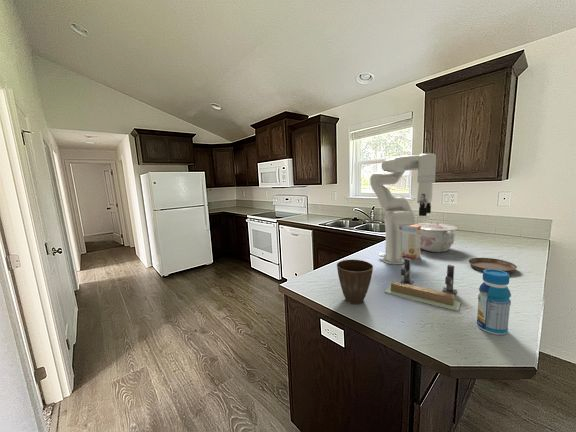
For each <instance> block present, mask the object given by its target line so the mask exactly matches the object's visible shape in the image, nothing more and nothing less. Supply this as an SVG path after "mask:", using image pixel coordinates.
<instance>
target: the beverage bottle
mask: <svg viewBox="0 0 576 432" xmlns="http://www.w3.org/2000/svg"><path fill="white" fill-rule="evenodd" d="M510 277H511V276H510V273H506V272H504V271H500V270H495V269H486V270H484V271H482V281H483V282H482V283H481V284H480V285H479V288H478V291H479V293H478V295H477V299H478V301H477V302H478V303H477V314H476V317H477V318H476V325H477V327H478V328H479V329H480V330H482V331H484V332H486V333H489V334H493V335H496V336H497V335H499V336H502V335H506V334H507V333H508V331H509V318H510V310H511V309H510V307H511V304H512V301H511V299H510V298H511V297H512V293H511V290H510V289H509V287H508V285H509V284H510Z"/></svg>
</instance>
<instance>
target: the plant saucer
mask: <svg viewBox="0 0 576 432" xmlns="http://www.w3.org/2000/svg"><path fill="white" fill-rule="evenodd" d="M468 263H469V265H470V266H471V267H472V268H473V269H475V270H478V271H481V272H483V271H484V270H486V269H495V270H500V271H504V272H506V273H508V274H510V273H513V272H514V271H515V270H516V269H518V267H517V265H516V264H515V263H513V262H510V261H507V260H503V259H499V258H492V257H491V258H489V257H473V258H469V259H468Z"/></svg>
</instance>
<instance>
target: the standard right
mask: <svg viewBox="0 0 576 432" xmlns="http://www.w3.org/2000/svg"><path fill="white" fill-rule="evenodd" d="M446 267H447V269H446V276H445V281H444V284H445V285H446V287H445V286H444V287H443V288H442V291H441V292H445V293H450V294H454V295H457V291H458V290H457V289H454V283H455V282H454V281H455V280H454V279H455V265H451V264H447V266H446Z"/></svg>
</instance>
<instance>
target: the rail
mask: <svg viewBox="0 0 576 432" xmlns="http://www.w3.org/2000/svg"><path fill="white" fill-rule="evenodd" d="M390 286H391V291H393V292H397V293H401V294H405V295H409V296H414V297H418V298H422V299H426V300H430V301H434V302H438V303H442V304H446V305H450V306H453V304H454V301H455V294H451V293H447V292H442V291H440V290H435V289H431V288H427V287H422V286H416V285H414V284H412V285H410V284H406V283H401V282H399V281H394V280H392V282H391V283H390Z"/></svg>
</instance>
